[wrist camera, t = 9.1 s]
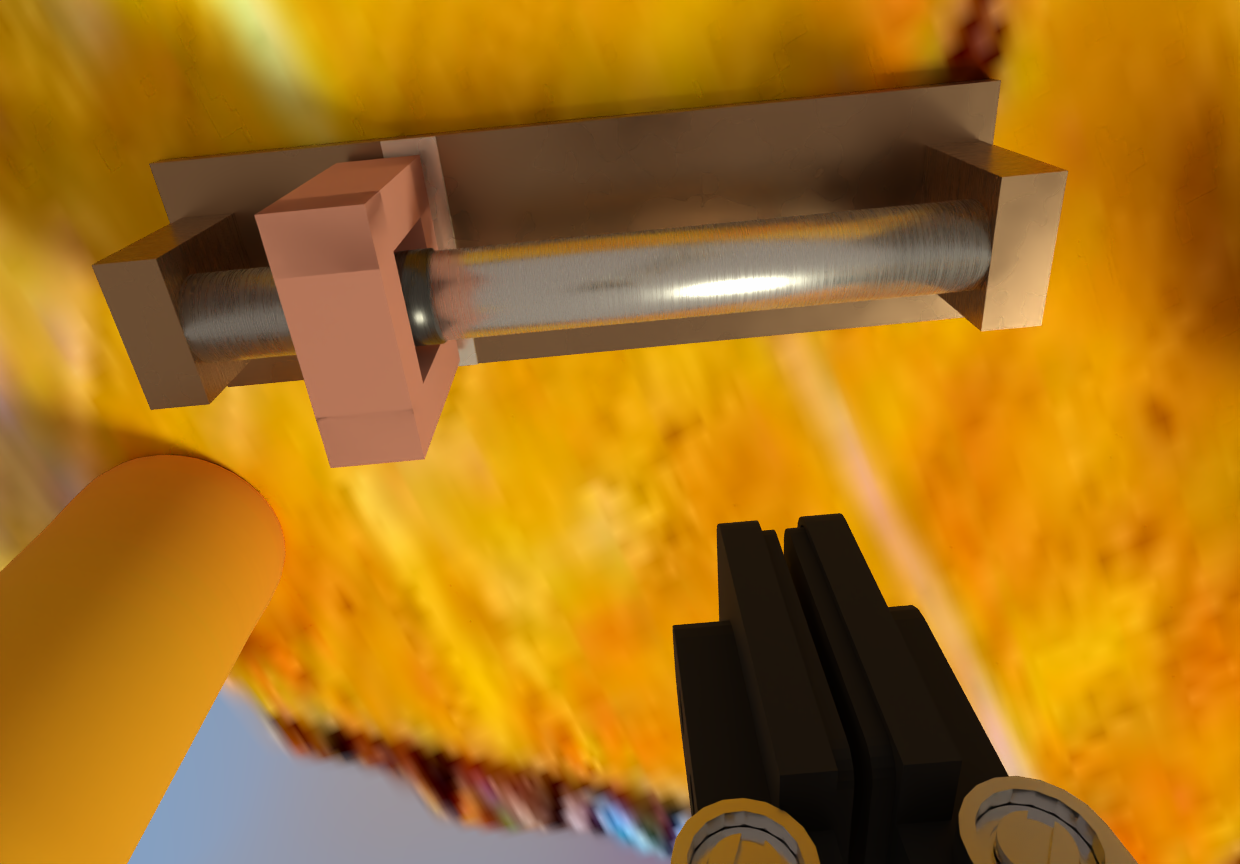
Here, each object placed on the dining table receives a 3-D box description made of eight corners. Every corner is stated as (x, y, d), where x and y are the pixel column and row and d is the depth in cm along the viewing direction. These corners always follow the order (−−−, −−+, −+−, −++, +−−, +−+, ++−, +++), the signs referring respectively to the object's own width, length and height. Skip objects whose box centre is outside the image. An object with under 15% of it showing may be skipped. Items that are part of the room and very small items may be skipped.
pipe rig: (159, 159, 30) (45, 201, 24) (990, 78, 30) (1099, 98, 23) (235, 379, 34) (156, 463, 28) (962, 310, 34) (1047, 379, 28)
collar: (336, 162, 29) (254, 214, 22) (419, 154, 29) (364, 204, 22) (386, 367, 32) (330, 467, 25) (460, 359, 32) (424, 458, 25)
